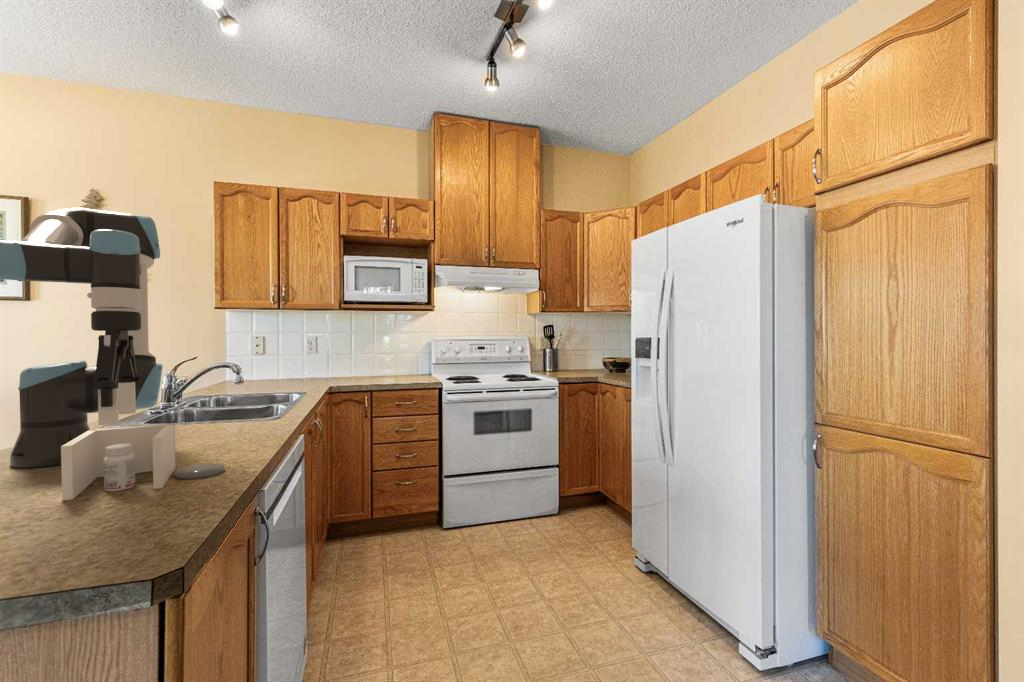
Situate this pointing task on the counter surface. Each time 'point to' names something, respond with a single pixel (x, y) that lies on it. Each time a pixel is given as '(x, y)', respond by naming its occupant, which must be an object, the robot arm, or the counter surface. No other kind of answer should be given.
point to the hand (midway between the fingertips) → (118, 418)
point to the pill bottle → (119, 468)
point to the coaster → (199, 471)
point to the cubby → (89, 451)
